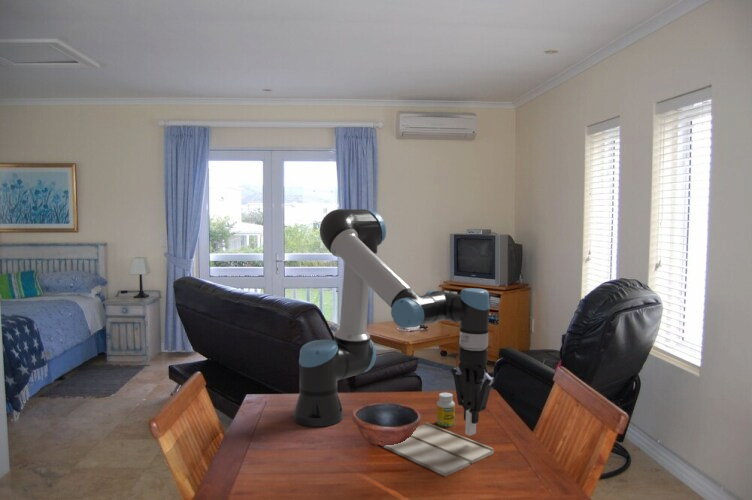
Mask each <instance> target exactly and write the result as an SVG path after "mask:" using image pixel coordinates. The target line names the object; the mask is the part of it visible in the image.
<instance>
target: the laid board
mask: <svg viewBox="0 0 752 500" xmlns="http://www.w3.org/2000/svg"><path fill="white" fill-rule="evenodd" d="M383 448H384V449H386V450H388V451H390V452H392V453H395V454H397V455H399V456H401V457H403V458H405V459H408V460H410V461H412V462H414V463H416V464H418V465H420V466H423V467H424V468H427V469H429V470H431V471H433V472H435V473H437V474H439V475H442V476H444V477H447V476H450V475H451V474H453V473H455V472H458V471H460V470H462V469H464V468H466V467H468V466H470V465H472V463H469V462H468V461H466V460H463V459H461V458H459V457H456V456H454V455H452V454H449V453H447V452H445V451H442V450H440V449H437V448H435V447H433V446H430V445H428V444H426V443H423V442H421V441H419V440H416V439H414V438H412V437H409V438H407V439H406V440H405V441H403V442H401V443H398V444H394V445H385V446H384V447H383Z"/></svg>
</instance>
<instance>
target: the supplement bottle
mask: <svg viewBox="0 0 752 500" xmlns="http://www.w3.org/2000/svg"><path fill="white" fill-rule="evenodd" d="M453 397H454V395H453V393H451V392H441V393H439V394H438V399H439V400H438V401H437V402H436V424H437V426H438V427H441V428H450V427H454V426H455V425H456V423H455V422H456V419H455V418H456V417H455V416H456V413H455V412H456V403H455V402H454V400H453Z"/></svg>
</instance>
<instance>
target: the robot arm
mask: <svg viewBox="0 0 752 500" xmlns="http://www.w3.org/2000/svg"><path fill="white" fill-rule="evenodd" d="M319 237H320V240H321V241H322V244H323V245H324V247H325V248H326V249H327V251H329V252H330V253H331V255H332V256H334V257H336V258H341V260H342V261H344V262H343V263H344V264H343V280H342V293H341V294H342V295H341V305H340V306H341V307H340V321H339V329H338V330H337V331H335V332H334V337H333V338H334V339H333V340H332V339H329V338H327V339H324V338H323V339H320V340H319V339H315V340H313V341H308V342H306V343H305V344H303V345H302V346H301V347H300V350H299V359H298V365H299V367H298V368H299V395H298V398H297V400H296V404H295V408H294V410H293V421H294V422H295V423H297V424H298V425H301V426H306V427H311V428H312V427H315V428H320V427H328V426H331V425H335V424H338V423H339V422H341V421H342V420H343V418H344V409H343V406H342V403H341V400H340V397H339V393H338V381H340V380H343V379H344V380H345V379H347V378H350V377H351V378H352V377H353V376H354V377H355V376H360V375H362V374H363V373H366V372H368V371H369V370H371V369H372V368H373V366H374V364H375V362H376V359H377V349H376V347H375V346H374V345H375V343H374V342H373V341H372V339H371V335H370V333H369V332H368V331H367V323H368V312H369V310H368V309H369V298H370V288H371V290H372V291H373V292H375V294H376V295H377V296H378V297H380V298H381V300H382V301H383V302H385V303H386V305H387V306H388V307H390V310H391V311H390V315H391V317H392V320H393V323H394V324H396V326H398V328H399V327H400V328H401V329H402V328H403V329H408V328H409V329H410V328H417V327H419V326H423V325H427V324H432V323H436V322H441V321H448V322H454V323H459V342H458V343H459V346H460V347H459V348H458V361H459V364H458V366H457V367H454V368H451V370H450V371H451V374H452V376H453V380H454V387H455V391H456V399H457V404H458V406H461V407H463V421H465V427H464V429H465V430H464V431H465V433H464V434H465V435H466V436H469V437H470V436H473V435H475V434H476V433H477V424H478V423H479V416H480V412H482V411H485V410H486V408H487V405H488V401H489V398H490V397H489V396H490V392H491V390H492V385H493V384H494V383H495V381H496V378H495V377H494V376H492V377H491V376H490V375H489V373H488V369H487V363H488V359H489V358H488V356H489V350H488V349H487V348H488V347H489V321H490V309H491V304H490V293H489V291H488V290H487V289H483V288H472V287H468V288H467V287H466V288H463V289H461V291H460V294H458V293H451V292H446V291H445V292H444V291H442V290H437V291H436V290H429V291H427V292H426V293H425V294H423V295H419V294H418V293H417V292H416V291H414V290H413V289H412V288H411V287H410V286H409V285H408V284H407V283H406V282H405V281H404V279H402V278H401V277H399V275H397V273H396V272H394V271H393V270H392V269H391V268H390V266H388V265H387V264H386V263H385V262H384V261H383V260H382V259H380V257H379V256H377V254H378V247H379V246H380V245H381V244H382V243H383V242H384V241H385V239H386V237H387V227H386V223H385V220H384V218H383V217H382V215H380V214H379V212H377V211H375V210H373V209H366V208H364V209H363V208H360V209H356V208H354V209H353V208H352V209H349V208H347V209H345V208H341V209H340V208H339V209H334V210H332V211H330V212H328V213H326V215H325V216H324V217H323V219H322V220H321V222H320V226H319Z"/></svg>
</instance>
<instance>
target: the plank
mask: <svg viewBox="0 0 752 500" xmlns="http://www.w3.org/2000/svg"><path fill="white" fill-rule="evenodd" d="M416 427H417V428H416ZM416 427H415V428H416V430H415V431H414V432H413V434H412V435H411V437H412V438H414V439H416V440H419V441H421V442H423V443H426V444H428V445H430V446H433V447H435V448H437V449H440V450H442V451H445V452H447V453H449V454H452V455H454V456H456V457H459V458H461V459H463V460H466V461H468V462H469V463H470V464H471V465H472V464H475V463H477V462H479V461H481V460H483V459H486V458H487V457H489V456H492V455H494V453H495V452H494V451H495V450H494V448H493V447H492V446H489V445H486V444H484V443H481V442H478V441H475V440H473V439H471V438H468V437H467V436H463V435H461V434H458V433H456V432H453V431H450V430H447V429H444V427H441V426H438V425H434V424H432V423H430V422H427V421H425V422H424V424H421V425H419V426H416Z"/></svg>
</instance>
